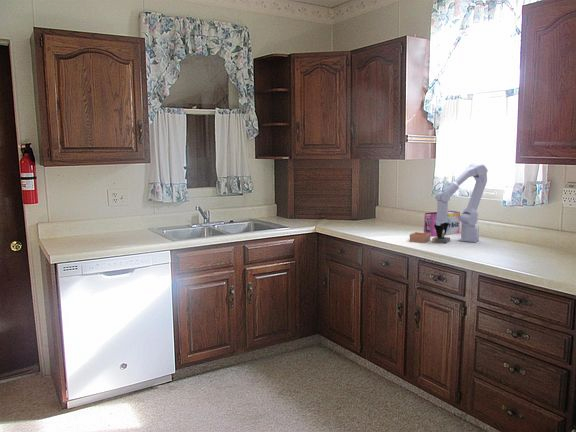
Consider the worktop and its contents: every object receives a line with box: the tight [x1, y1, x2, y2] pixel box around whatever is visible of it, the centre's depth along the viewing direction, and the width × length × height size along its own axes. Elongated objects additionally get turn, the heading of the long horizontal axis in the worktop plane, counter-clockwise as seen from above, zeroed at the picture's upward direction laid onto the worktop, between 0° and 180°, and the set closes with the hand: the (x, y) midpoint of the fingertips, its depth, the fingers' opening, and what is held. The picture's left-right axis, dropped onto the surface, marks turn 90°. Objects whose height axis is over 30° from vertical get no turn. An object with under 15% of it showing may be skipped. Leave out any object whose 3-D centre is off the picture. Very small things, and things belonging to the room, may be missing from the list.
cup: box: [409, 231, 432, 244], centre depth 291 cm, size 9×9×4 cm
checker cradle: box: [431, 236, 451, 244], centre depth 288 cm, size 8×8×2 cm
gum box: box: [423, 210, 461, 237], centre depth 312 cm, size 24×8×14 cm, turn 118°
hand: (441, 236), depth 288 cm, fingers open, 7 cm apart
